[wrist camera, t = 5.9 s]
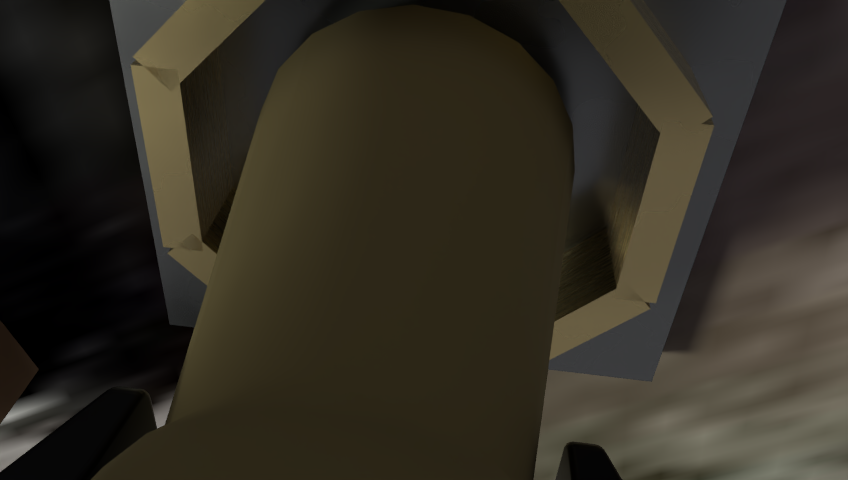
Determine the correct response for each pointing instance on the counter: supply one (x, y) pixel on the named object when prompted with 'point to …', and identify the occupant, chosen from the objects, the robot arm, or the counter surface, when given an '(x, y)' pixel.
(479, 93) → the olive brown tapered cylinder
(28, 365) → the walnut block
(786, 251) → the counter surface
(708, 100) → the cup bracket
